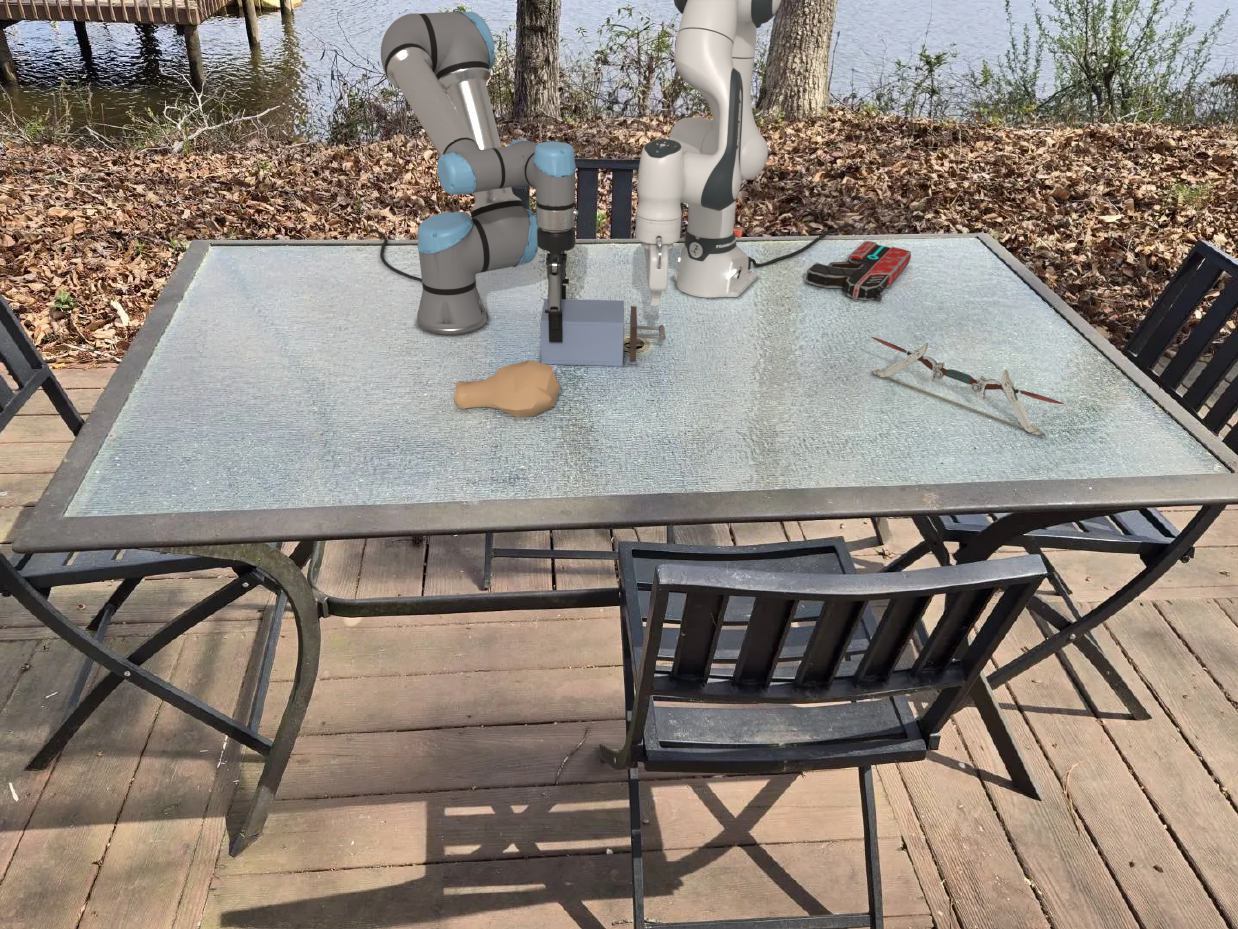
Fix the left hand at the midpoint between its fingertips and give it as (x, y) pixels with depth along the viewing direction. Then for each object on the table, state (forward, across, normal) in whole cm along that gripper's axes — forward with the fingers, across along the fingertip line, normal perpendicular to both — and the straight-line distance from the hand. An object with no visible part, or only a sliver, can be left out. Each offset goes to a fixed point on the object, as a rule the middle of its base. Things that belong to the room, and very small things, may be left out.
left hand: (557, 327), depth 182 cm
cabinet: (+6, 0, -5) cm, 8 cm away
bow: (+6, -18, -78) cm, 80 cm away
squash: (+6, -24, +8) cm, 26 cm away
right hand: (-8, 0, -20) cm, 21 cm away
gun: (+6, +47, -75) cm, 88 cm away
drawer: (+5, 0, -12) cm, 12 cm away
